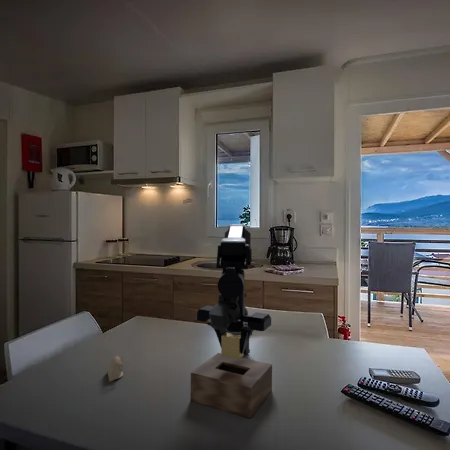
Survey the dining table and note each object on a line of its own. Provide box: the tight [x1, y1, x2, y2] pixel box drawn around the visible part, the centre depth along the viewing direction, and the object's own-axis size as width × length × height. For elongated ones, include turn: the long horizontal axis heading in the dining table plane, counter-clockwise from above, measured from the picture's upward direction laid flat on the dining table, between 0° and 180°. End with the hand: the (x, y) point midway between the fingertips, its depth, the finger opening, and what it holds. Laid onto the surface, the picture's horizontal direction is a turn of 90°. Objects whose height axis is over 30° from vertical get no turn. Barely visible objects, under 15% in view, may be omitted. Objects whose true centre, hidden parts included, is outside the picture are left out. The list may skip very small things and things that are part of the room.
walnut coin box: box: [190, 352, 273, 419], centre depth 85 cm, size 16×14×7 cm
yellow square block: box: [220, 333, 245, 359], centre depth 85 cm, size 5×2×5 cm, turn 62°
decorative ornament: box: [106, 355, 124, 383], centre depth 95 cm, size 4×8×5 cm, turn 23°
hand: (232, 351), depth 85 cm, fingers closed on yellow square block, 5 cm apart
